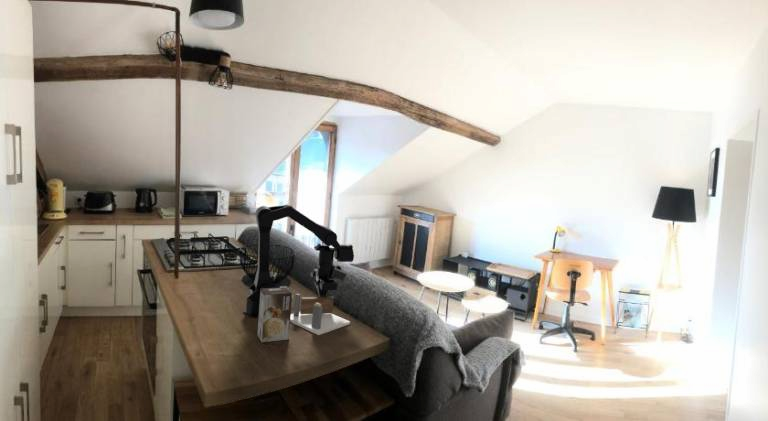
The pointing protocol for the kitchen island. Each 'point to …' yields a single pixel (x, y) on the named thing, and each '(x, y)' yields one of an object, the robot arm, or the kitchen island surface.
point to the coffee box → (274, 314)
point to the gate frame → (316, 319)
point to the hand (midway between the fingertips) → (321, 300)
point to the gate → (309, 302)
